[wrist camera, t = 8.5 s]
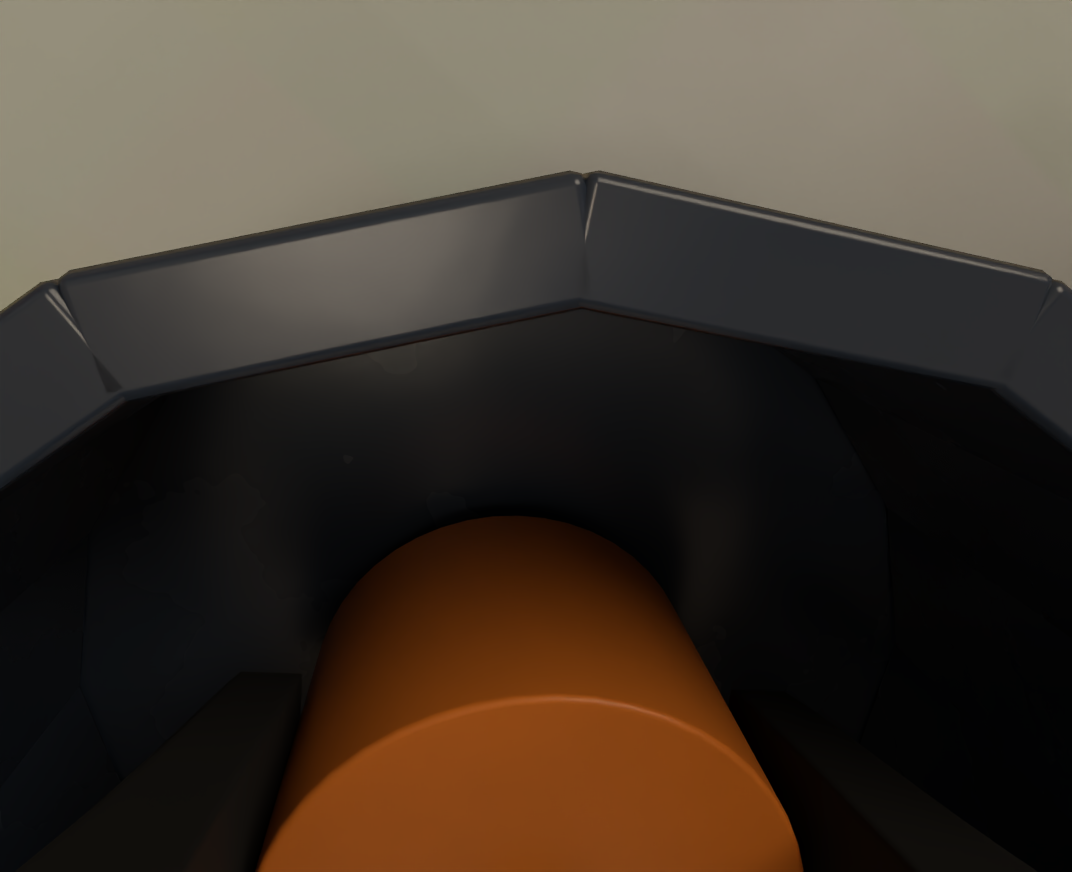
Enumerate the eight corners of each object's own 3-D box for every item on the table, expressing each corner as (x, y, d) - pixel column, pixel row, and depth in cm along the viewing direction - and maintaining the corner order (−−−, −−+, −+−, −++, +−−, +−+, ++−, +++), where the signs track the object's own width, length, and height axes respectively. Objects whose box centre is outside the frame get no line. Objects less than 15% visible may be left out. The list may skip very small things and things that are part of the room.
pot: (892, 112, 9) (1598, -34, 4) (933, 878, 13) (1324, 1432, 7) (-110, 311, 9) (-1144, 512, 3) (211, 1051, 12) (-1, 1797, 7)
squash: (659, 476, 9) (814, 683, 5) (707, 793, 11) (861, 1147, 7) (269, 561, 9) (126, 842, 5) (368, 871, 10) (318, 1287, 6)
